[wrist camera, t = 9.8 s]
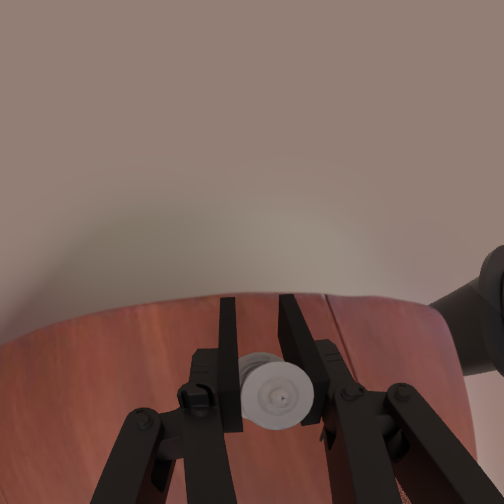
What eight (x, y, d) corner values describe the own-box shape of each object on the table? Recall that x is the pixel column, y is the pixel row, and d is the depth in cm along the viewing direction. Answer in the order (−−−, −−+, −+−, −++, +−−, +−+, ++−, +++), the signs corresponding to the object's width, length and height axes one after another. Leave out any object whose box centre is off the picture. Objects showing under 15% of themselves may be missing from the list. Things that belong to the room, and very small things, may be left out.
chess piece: (224, 351, 17) (207, 322, 8) (293, 353, 17) (352, 323, 8) (222, 417, 15) (202, 464, 6) (292, 418, 15) (352, 458, 6)
